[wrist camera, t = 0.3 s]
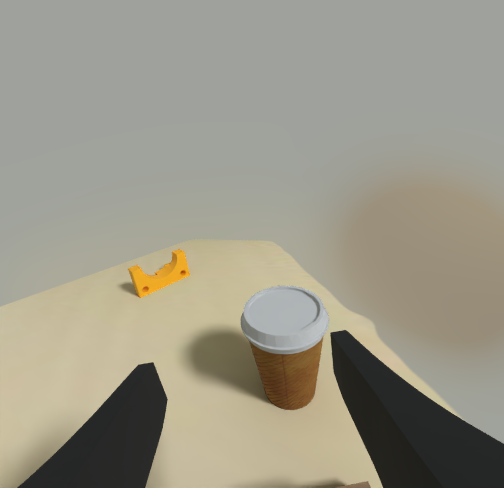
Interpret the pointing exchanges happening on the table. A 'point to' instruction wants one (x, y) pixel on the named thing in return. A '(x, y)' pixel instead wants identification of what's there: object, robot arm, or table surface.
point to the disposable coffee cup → (286, 342)
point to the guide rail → (357, 485)
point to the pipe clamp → (160, 275)
